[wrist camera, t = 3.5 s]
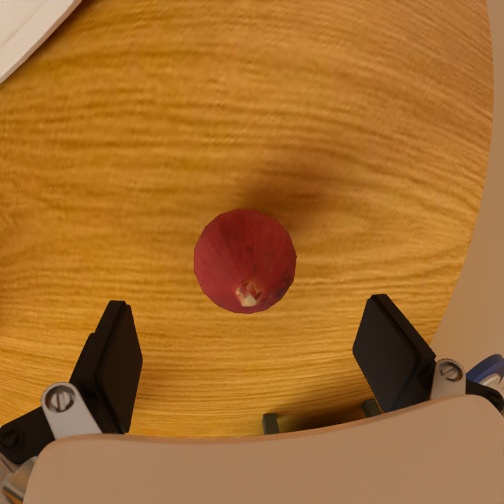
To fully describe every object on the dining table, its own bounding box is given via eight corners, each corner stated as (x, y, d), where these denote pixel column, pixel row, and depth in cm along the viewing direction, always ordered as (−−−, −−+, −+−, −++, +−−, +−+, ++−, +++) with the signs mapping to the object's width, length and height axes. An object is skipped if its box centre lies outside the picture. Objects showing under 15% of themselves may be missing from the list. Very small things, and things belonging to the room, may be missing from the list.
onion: (297, 219, 20) (339, 275, 13) (257, 285, 22) (275, 362, 15) (220, 181, 18) (222, 219, 11) (184, 255, 20) (169, 327, 13)
